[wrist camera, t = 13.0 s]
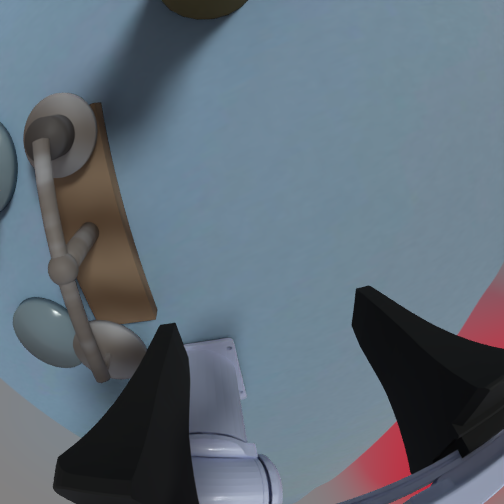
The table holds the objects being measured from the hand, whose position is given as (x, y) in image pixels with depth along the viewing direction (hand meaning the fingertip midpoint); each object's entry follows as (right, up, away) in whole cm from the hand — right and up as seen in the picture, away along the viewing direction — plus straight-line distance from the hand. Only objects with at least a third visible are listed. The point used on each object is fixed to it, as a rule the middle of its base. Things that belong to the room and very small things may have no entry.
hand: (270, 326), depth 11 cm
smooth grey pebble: (-19, -5, +11) cm, 23 cm away
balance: (-12, +5, +7) cm, 15 cm away
